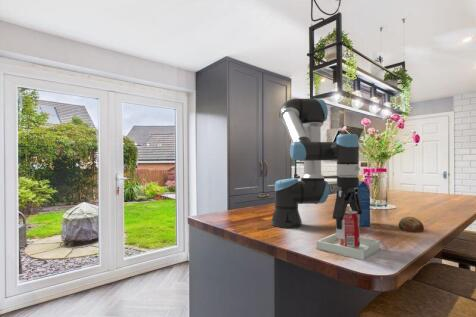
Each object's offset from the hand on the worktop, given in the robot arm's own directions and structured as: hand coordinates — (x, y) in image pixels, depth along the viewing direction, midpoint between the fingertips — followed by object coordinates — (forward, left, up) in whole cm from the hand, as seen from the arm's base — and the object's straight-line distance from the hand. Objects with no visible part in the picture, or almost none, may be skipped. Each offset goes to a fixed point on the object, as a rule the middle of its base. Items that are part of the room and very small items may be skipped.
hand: (348, 234), depth 101 cm
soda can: (0, +1, -5) cm, 5 cm away
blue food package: (-12, +45, -5) cm, 47 cm away
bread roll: (+10, +49, -6) cm, 50 cm away
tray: (0, 0, -5) cm, 5 cm away
